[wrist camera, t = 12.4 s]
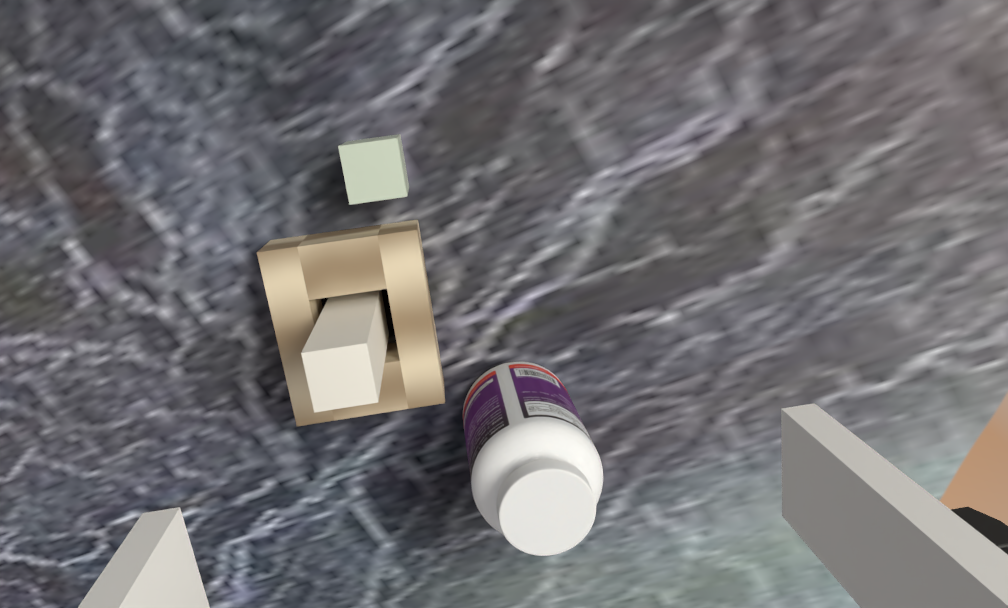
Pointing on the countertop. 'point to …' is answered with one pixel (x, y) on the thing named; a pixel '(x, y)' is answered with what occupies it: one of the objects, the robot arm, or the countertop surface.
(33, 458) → the countertop surface
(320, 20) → the countertop surface
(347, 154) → the short peg
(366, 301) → the long peg
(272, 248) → the hole block
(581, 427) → the pill bottle
